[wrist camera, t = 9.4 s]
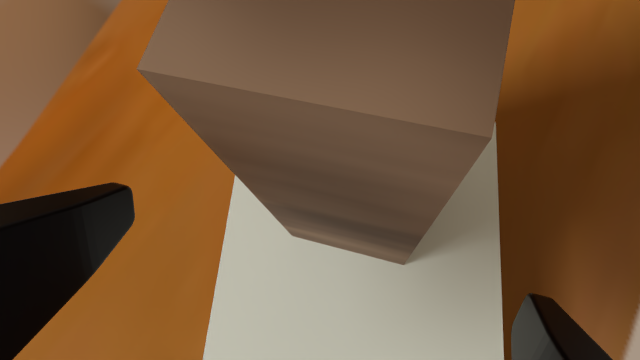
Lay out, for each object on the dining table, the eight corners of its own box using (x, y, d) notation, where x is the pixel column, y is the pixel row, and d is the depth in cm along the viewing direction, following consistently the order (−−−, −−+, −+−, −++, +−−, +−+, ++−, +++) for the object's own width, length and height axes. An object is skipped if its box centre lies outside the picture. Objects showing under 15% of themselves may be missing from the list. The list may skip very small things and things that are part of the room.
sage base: (483, 397, 18) (505, 412, 15) (224, 363, 20) (200, 371, 17) (478, 147, 22) (495, 122, 19) (261, 136, 23) (246, 112, 20)
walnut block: (403, 265, 17) (491, 138, 5) (292, 236, 18) (136, 69, 6) (426, 158, 19) (538, -146, 6) (321, 136, 20) (245, -166, 7)
